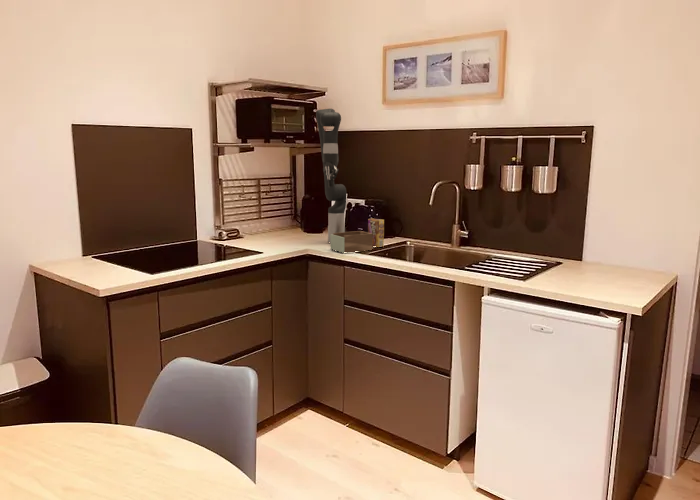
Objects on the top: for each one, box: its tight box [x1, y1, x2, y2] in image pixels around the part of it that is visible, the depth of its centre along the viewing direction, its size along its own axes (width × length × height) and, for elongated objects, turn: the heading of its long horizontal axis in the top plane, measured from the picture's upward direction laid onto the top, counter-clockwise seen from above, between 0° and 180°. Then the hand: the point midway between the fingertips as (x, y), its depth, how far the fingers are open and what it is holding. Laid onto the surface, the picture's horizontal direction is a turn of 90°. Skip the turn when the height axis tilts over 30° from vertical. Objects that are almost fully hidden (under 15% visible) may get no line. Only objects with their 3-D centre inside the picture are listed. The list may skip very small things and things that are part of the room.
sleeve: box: [333, 230, 374, 253], centre depth 279 cm, size 12×17×9 cm
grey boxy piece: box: [329, 234, 344, 254], centre depth 278 cm, size 13×17×8 cm
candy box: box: [367, 218, 385, 247], centre depth 289 cm, size 9×4×15 cm, turn 39°
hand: (330, 187), depth 273 cm, fingers closed
